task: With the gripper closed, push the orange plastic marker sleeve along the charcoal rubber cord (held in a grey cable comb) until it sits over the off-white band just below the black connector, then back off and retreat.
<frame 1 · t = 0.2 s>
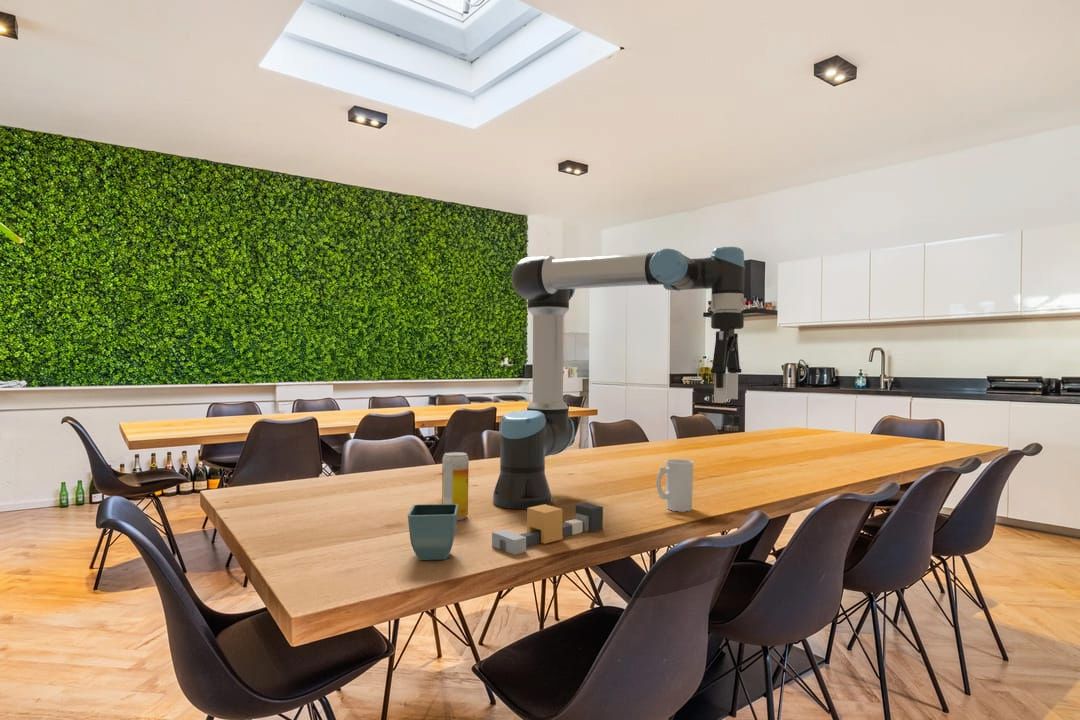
hand: (726, 400, 148), 28 cm above the table, fingers open, 13 cm apart
sleeve: (544, 523, 127), point 3 cm above the table, slide at 0.0 cm
beer can: (454, 518, 144), on the table
mug: (673, 510, 154), on the table
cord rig: (551, 538, 128), on the table
flower pot: (433, 557, 116), on the table
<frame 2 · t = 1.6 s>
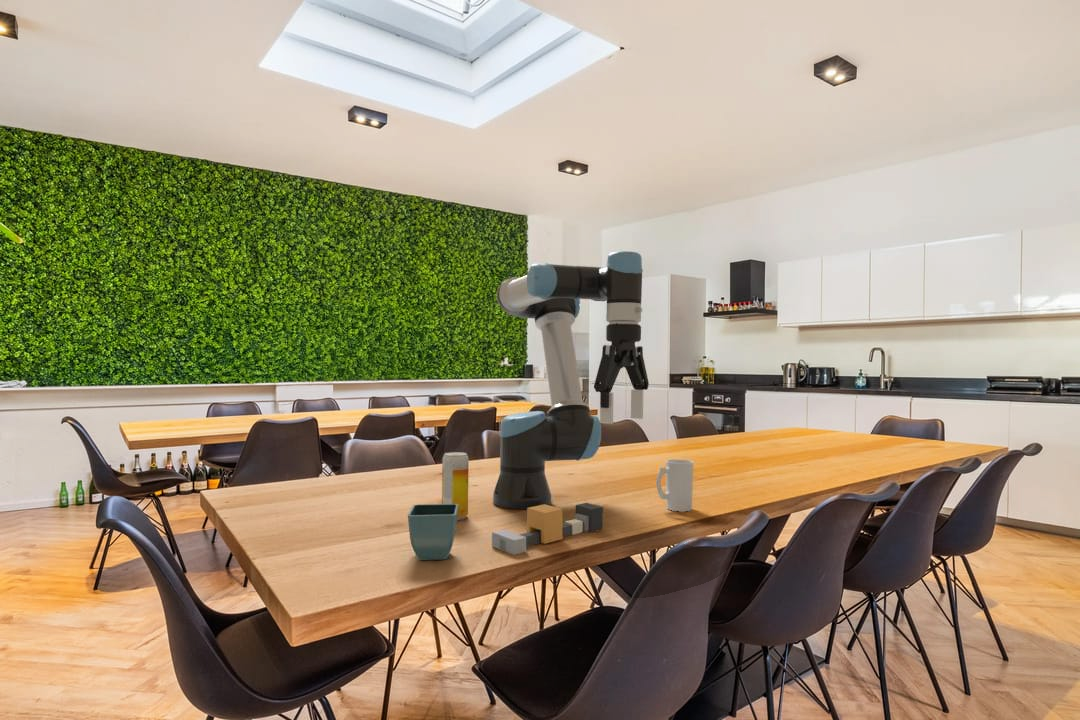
hand: (622, 421, 134), 24 cm above the table, fingers open, 13 cm apart
nothing on the table moved.
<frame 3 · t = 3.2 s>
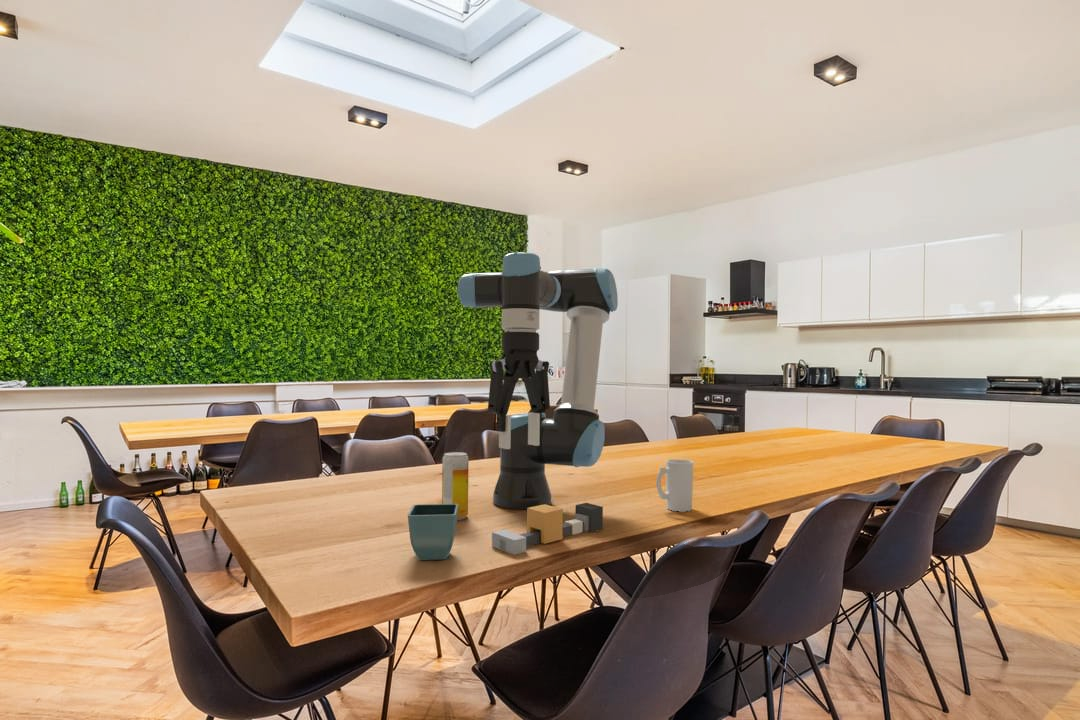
hand: (519, 446, 122), 20 cm above the table, fingers open, 7 cm apart
nothing on the table moved.
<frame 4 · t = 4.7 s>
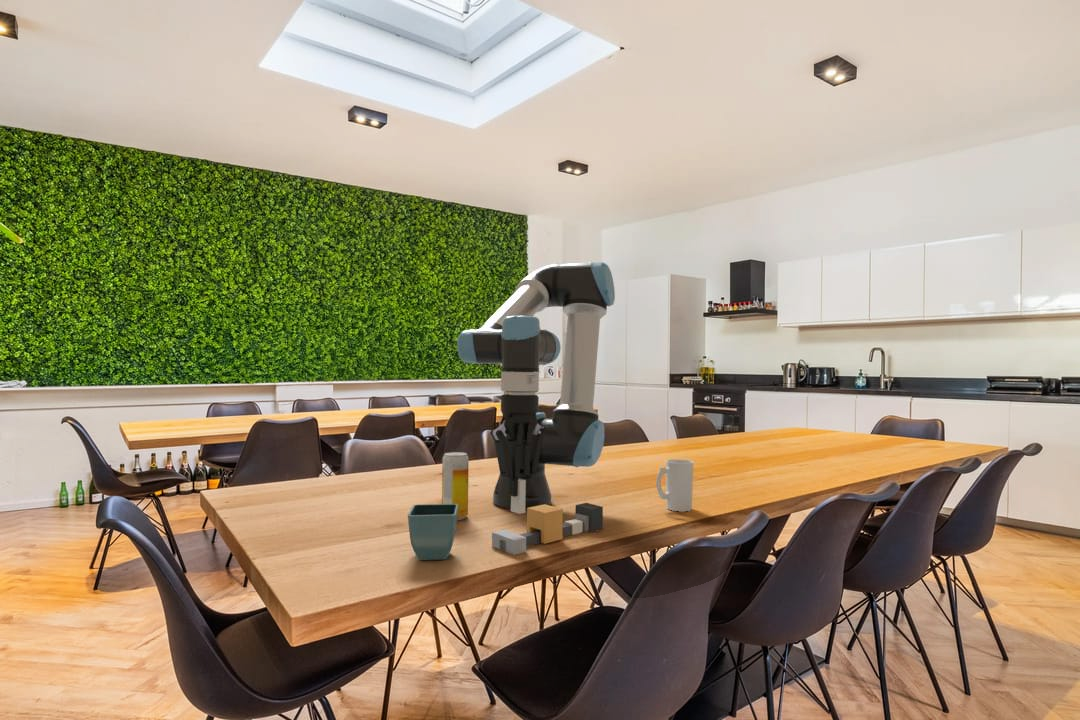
hand: (517, 511, 122), 7 cm above the table, fingers closed
nothing on the table moved.
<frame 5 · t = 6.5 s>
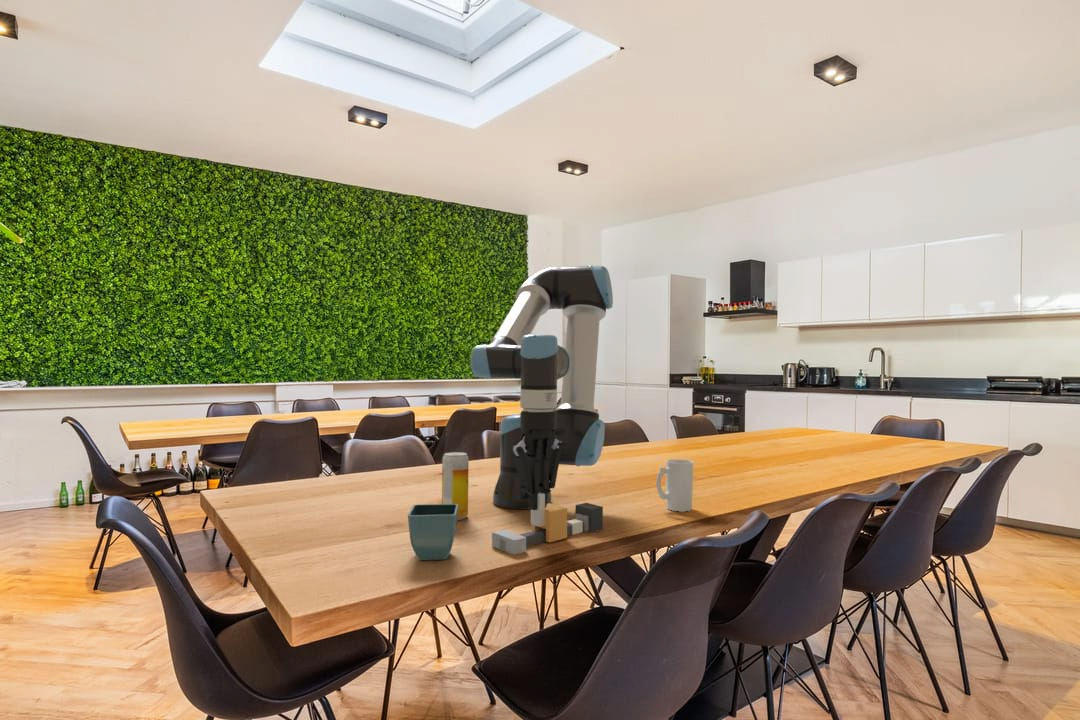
hand: (537, 524, 126), 3 cm above the table, fingers closed
sleeve: (549, 522, 128), point 3 cm above the table, slide at 1.4 cm, touching gripper
everything else where it was.
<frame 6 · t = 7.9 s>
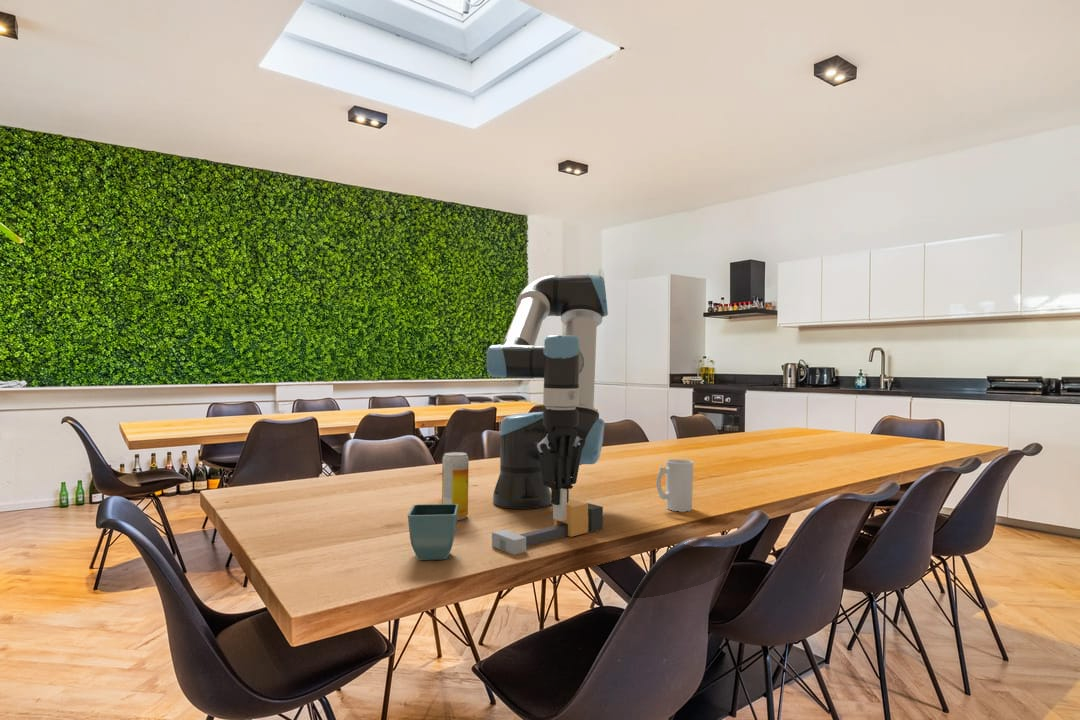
hand: (559, 519, 130), 4 cm above the table, fingers closed
sleeve: (570, 517, 132), point 3 cm above the table, slide at 7.6 cm, touching gripper
everything else where it was.
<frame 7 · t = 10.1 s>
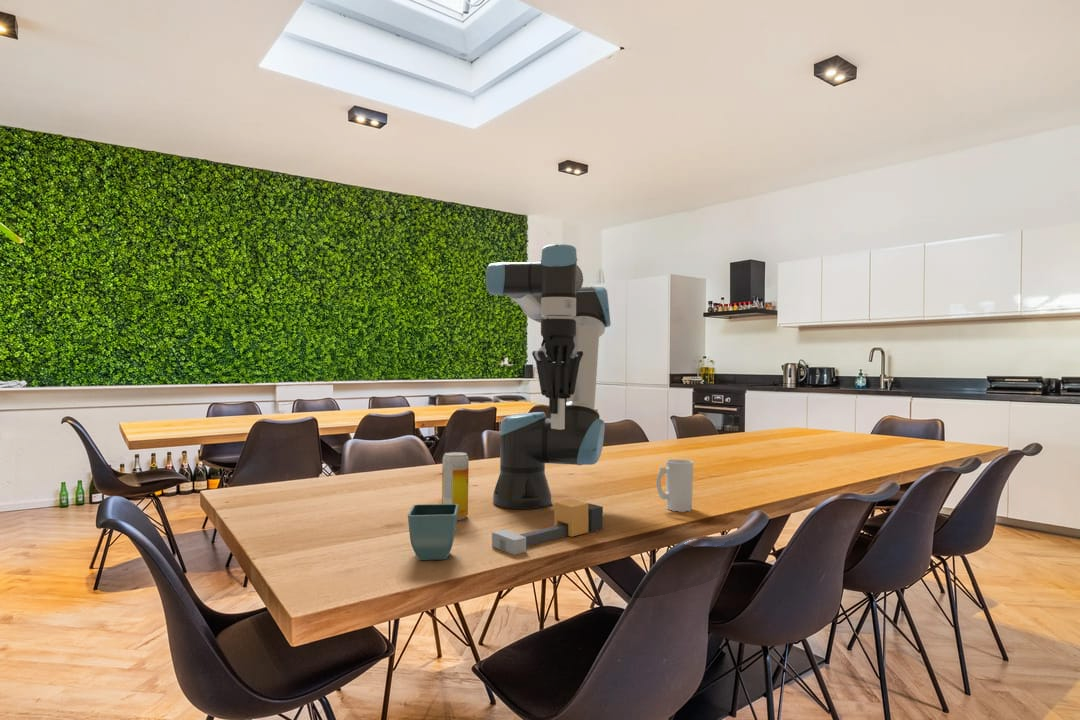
hand: (557, 428, 131), 23 cm above the table, fingers closed
sleeve: (571, 517, 132), point 3 cm above the table, slide at 7.7 cm
everything else where it was.
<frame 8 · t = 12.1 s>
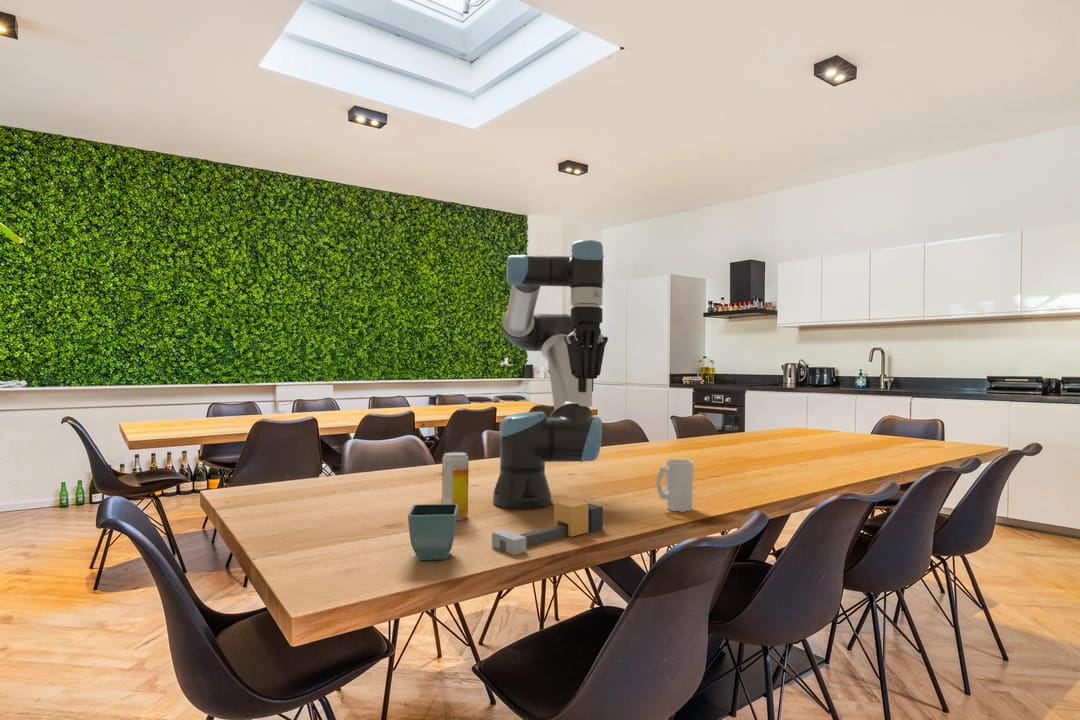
hand: (585, 406, 145), 26 cm above the table, fingers closed
nothing on the table moved.
at the end: sleeve slide at 7.7 cm; the gripper is holding nothing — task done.
